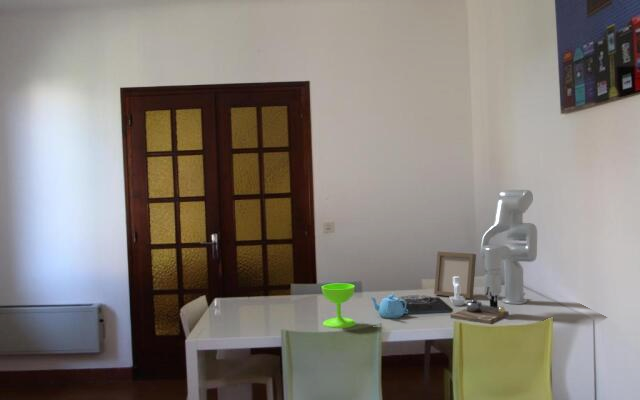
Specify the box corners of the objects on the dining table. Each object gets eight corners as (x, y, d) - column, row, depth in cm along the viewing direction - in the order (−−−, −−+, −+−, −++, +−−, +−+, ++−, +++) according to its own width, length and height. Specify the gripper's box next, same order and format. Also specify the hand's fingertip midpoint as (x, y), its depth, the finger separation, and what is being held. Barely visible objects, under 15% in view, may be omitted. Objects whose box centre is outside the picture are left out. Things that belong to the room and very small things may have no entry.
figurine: (452, 306, 295) (451, 278, 294) (448, 302, 304) (447, 275, 304) (466, 306, 295) (465, 278, 294) (462, 302, 304) (461, 274, 304)
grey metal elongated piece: (464, 311, 278) (464, 300, 277) (471, 308, 283) (471, 298, 283) (501, 316, 265) (501, 305, 265) (507, 313, 270) (507, 302, 270)
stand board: (471, 309, 288) (470, 306, 288) (508, 314, 274) (508, 311, 274) (450, 317, 272) (450, 314, 272) (489, 323, 259) (489, 320, 259)
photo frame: (469, 300, 309) (468, 254, 309) (434, 295, 324) (432, 252, 323) (481, 295, 321) (479, 251, 320) (446, 291, 335) (445, 249, 334)
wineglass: (363, 323, 267) (361, 286, 266) (336, 330, 258) (334, 291, 257) (342, 317, 280) (341, 282, 279) (316, 323, 271) (314, 286, 270)
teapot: (412, 316, 278) (411, 295, 278) (388, 321, 270) (387, 300, 270) (393, 311, 290) (392, 291, 290) (369, 315, 282) (369, 295, 282)
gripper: (492, 269, 283) (493, 305, 284) (478, 273, 272) (479, 311, 273) (506, 270, 278) (507, 307, 279) (493, 274, 267) (494, 313, 268)
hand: (493, 309), depth 276 cm, fingers closed
